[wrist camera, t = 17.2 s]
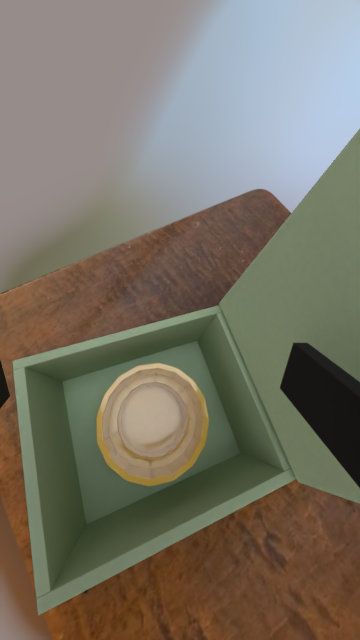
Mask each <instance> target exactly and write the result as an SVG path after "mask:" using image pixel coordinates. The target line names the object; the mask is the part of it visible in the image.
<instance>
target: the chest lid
mask: <svg viewBox="0 0 360 640" xmlns="http://www.w3.org/2000/svg"><path fill="white" fill-rule="evenodd" d="M219 304H220V307H221V309H222V311H223V313H224V316H225V318H226V320H227V322H228V325H229V327H230V329H231V331H232V334H233V336H234V338H235V341H236V343H237V345H238V347H239V350H240V352H241V354H242V356H243V359H244V361H245V363H246V365H247V368H248V370H249V372H250V375H251V377H252V379H253V381H254V384H255V386H256V388H257V390H258V393H259V395H260V397H261V400H262V402H263V404H264V406H265V409H266V411H267V413H268V415H269V418H270V420H271V422H272V424H273V427H274V429H275V431H276V434H277V436H278V438H279V440H280V443H281V445H282V447H283V449H284V452H285V454H286V456H287V458H288V461H289V463H290V465H291V468H292V470H293V472H294V474H295V477H296V479H297V481H298V482H299V483H302V484H305V485H308V486H311V487H314V488H317V489H319V490H322V491H325V492H328V493H331V494H334V495H337V496H340V497H342V498H345V499H348V500H351V501H354V502H357V503H360V488H359V487H358V486H357V484H356V483H355V482H354V481H353V479H352V478H351V477H350V476H349V474H348V473H347V472H346V471H345V469H344V468H343V467H342V466H341V464H340V463H339V462H338V461H337V459H336V458H335V457H334V455H333V454H332V453H331V452H330V450H329V449H328V448H327V447H326V445H325V444H324V443H323V442H322V440H321V439H320V438H319V437H318V435H317V434H316V433H315V432H314V430H313V429H312V428H311V427H310V425H309V424H308V423H307V422H306V420H305V419H304V418H303V417H302V415H301V414H300V413H299V412H298V410H297V409H296V408H295V407H294V405H293V404H292V403H291V402H290V400H289V399H288V398H287V397H286V395H285V394H284V393H283V392H282V390H281V389H280V385H281V382H282V378H283V375H284V372H285V369H286V365H287V362H288V359H289V355H290V352H291V349H292V345H293V343H308V344H310V345H311V346H312V347H314V348H315V349H316V350H318V351H319V352H320V353H322V354H323V355H324V356H326V357H327V358H328V359H330V360H331V361H332V362H334V363H335V364H336V365H338V366H339V367H340V368H342V369H343V370H344V371H346V372H347V373H348V374H350V375H351V376H352V377H354V378H355V379H356V380H358V381H359V382H360V129H359V130H358V132H357V133H356V134H355V135H354V137H353V138H352V139H351V140H350V141H349V143H348V144H347V145H346V146H345V148H344V149H343V150H342V151H341V153H340V154H339V155H338V156H337V158H336V159H335V160H334V161H333V163H332V164H331V165H330V166H329V168H328V169H327V170H326V171H325V173H324V174H323V175H322V176H321V177H320V179H319V180H318V181H317V182H316V184H315V185H314V186H313V187H312V189H311V190H310V191H309V192H308V194H307V195H306V196H305V197H304V199H303V200H302V201H301V202H300V204H299V205H298V206H297V207H296V209H295V210H294V211H293V212H292V213H291V215H290V216H289V217H288V218H287V220H286V221H285V222H284V223H283V225H282V226H281V227H280V228H279V230H278V231H277V232H276V233H275V235H274V236H273V237H272V238H271V239H270V241H269V242H268V243H267V244H266V246H265V247H264V248H263V249H262V251H261V252H260V253H259V254H258V256H257V257H256V258H255V259H254V261H253V262H252V263H251V264H250V266H249V267H248V268H247V269H246V270H245V272H244V273H243V274H242V275H241V277H240V278H239V279H238V280H237V282H236V283H235V284H234V285H233V287H232V288H231V289H230V290H229V292H228V293H227V294H226V295H225V297H224V298H223V299H222V300H221V302H220V303H219Z"/></svg>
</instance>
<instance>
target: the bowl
mask: <svg viewBox="0 0 360 640" xmlns="http://www.w3.org/2000/svg"><path fill="white" fill-rule="evenodd" d="M208 426H209V416H208V410H207V405H206V400H205V397H204V396H203V394H202V392H201V391H200V389H199V387H198V386H197V384H196V383H195V381H194V380H193V379H192V378H191V377H189V376H188V375H187V374H185V373H184V372H183V371H181V370H180V369H179V368H177V367H173V366H169V365H165V364H161V363H152V364H145V365H138V366H136V367H134V368H132V369H131V370H129V371H127V372H125V373H124V374H122V375H120V376H119V377H118V378H117V379H116V380H115V382H114V383H113V384H112V385H111V386H110V388H109V389H108V390H107V391H106V392H105V394H104V396H103V399H102V402H101V405H100V408H99V410H98V413H97V416H96V428H97V444H98V446H99V448H100V450H101V452H102V454H103V457H104V459H105V461H106V463H107V465H108V466H109V467H110V468H111V469H112V470H114V471H115V472H116V473H117V474H118V475H120V476H121V477H122V478H123V479H124V480H125V481H128V482H132V483H136V484H140V485H145V486H149V487H151V486H155V485H159V484H164V483H168V482H172V481H175V480H176V479H177V478H178V477H180V476H181V475H182V474H183V473H185V472H186V471H187V470H189V469H190V468H191V467H192V466H193V465H194V464H195V462H196V460H197V458H198V457H199V455H200V453H201V451H202V450H203V448H204V446H205V444H206V439H207V433H208Z"/></svg>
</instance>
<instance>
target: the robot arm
mask: <svg viewBox="0 0 360 640" xmlns="http://www.w3.org/2000/svg"><path fill="white" fill-rule="evenodd" d="M280 389H281V390H282V392H283V393H284V394H285V395H286V397H287V398H288V399H289V400H290V402H291V403H292V404H293V405H294V407H295V408H296V409H297V410H298V412H299V413H300V414H301V415H302V417H303V418H304V419H305V420H306V422H307V423H308V424H309V425H310V427H311V428H312V429H313V430H314V432H315V433H316V434H317V435H318V437H319V438H320V439H321V440H322V442H323V443H324V444H325V445H326V447H327V448H328V449H329V450H330V452H331V453H332V454H333V455H334V457H335V458H336V459H337V461H338V462H339V463H340V464H341V466H342V467H343V468H344V469H345V471H346V472H347V473H348V474H349V476H350V477H351V478H352V479H353V481H354V482H355V483H356V484H357V486H358V487H359V488H360V382H359V381H358V380H356V379H355V378H354V377H352V376H351V375H350V374H348V373H347V372H346V371H344V370H343V369H342V368H340V367H339V366H338V365H336V364H335V363H334V362H332V361H331V360H330V359H328V358H327V357H326V356H324V355H323V354H322V353H320V352H319V351H318V350H316V349H315V348H314V347H312V346H311V345H310V344H308V343H293V345H292V349H291V352H290V355H289V359H288V362H287V365H286V369H285V372H284V375H283V378H282V382H281V385H280ZM9 397H10V394H9V391H8V387H7V383H6V379H5V376H4V372H3V368H2V364H1V361H0V408H1V407H2V405H3V404H4V403H5V402H6V400H7V399H8V398H9Z"/></svg>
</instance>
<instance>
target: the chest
mask: <svg viewBox="0 0 360 640" xmlns="http://www.w3.org/2000/svg"><path fill="white" fill-rule="evenodd" d="M152 363H161V364H165V365H169V366H173V367H177V368H179V369H180V370H181V371H183V372H184V373H185V374H187V375H188V376H189V377H191V378H192V379H193V380H194V381H195V383H196V384H197V386H198V387H199V389H200V391H201V392H202V394H203V396H204V397H205V400H206V405H207V410H208V416H209V426H208V433H207V439H206V444H205V446H204V448H203V450H202V451H201V453H200V455H199V457H198V458H197V460H196V462H195V464H194V465H193V466H192V467H191V468H190V469H189V470H187V471H186V472H185V473H183V474H182V475H181V476H180V477H178V478H177V479H176V480H175V481H172V482H168V483H164V484H159V485H155V486H151V487H149V486H145V485H140V484H136V483H132V482H128V481H125V480H124V479H123V478H122V477H121V476H120V475H118V474H117V473H116V472H115V471H114V470H112V469H111V468H110V467H109V466H108V465H107V463H106V461H105V459H104V457H103V454H102V452H101V450H100V448H99V446H98V444H97V428H96V416H97V413H98V410H99V408H100V405H101V402H102V399H103V396H104V394H105V392H106V391H107V390H108V389H109V388H110V386H111V385H112V384H113V383H114V382H115V380H116V379H117V378H118V377H119V376H120V375H122V374H124V373H125V372H127V371H129V370H131V369H132V368H134V367H136V366H138V365H145V364H152ZM13 369H14V381H15V391H16V401H17V411H18V421H19V431H20V441H21V451H22V461H23V471H24V481H25V491H26V501H27V511H28V521H29V531H30V541H31V551H32V561H33V571H34V581H35V591H36V598H37V609H38V615H40V614H42V613H44V612H46V611H48V610H50V609H52V608H54V607H56V606H57V605H59V604H61V603H63V602H65V601H67V600H69V599H71V598H73V597H74V596H76V595H78V594H80V593H82V592H84V591H86V590H88V589H89V588H91V587H93V586H95V585H97V584H99V583H101V582H103V581H105V580H106V579H108V578H110V577H112V576H114V575H116V574H118V573H120V572H121V571H123V570H125V569H127V568H129V567H131V566H133V565H135V564H137V563H138V562H140V561H142V560H144V559H146V558H148V557H150V556H152V555H154V554H155V553H157V552H159V551H161V550H163V549H165V548H167V547H169V546H170V545H172V544H174V543H176V542H178V541H180V540H182V539H184V538H186V537H187V536H189V535H191V534H193V533H195V532H197V531H199V530H201V529H202V528H204V527H206V526H208V525H210V524H212V523H214V522H216V521H218V520H219V519H221V518H223V517H225V516H227V515H229V514H231V513H233V512H235V511H236V510H238V509H240V508H242V507H244V506H246V505H248V504H250V503H251V502H253V501H255V500H257V499H259V498H261V497H263V496H265V495H267V494H268V493H270V492H272V491H274V490H276V489H278V488H280V487H282V486H283V485H285V484H287V483H289V482H291V481H293V480H295V479H296V477H295V474H294V472H293V470H292V468H291V465H290V463H289V461H288V458H287V456H286V454H285V452H284V449H283V447H282V445H281V443H280V440H279V438H278V436H277V434H276V431H275V429H274V427H273V424H272V422H271V420H270V418H269V415H268V413H267V411H266V409H265V406H264V404H263V402H262V400H261V397H260V395H259V393H258V390H257V388H256V386H255V384H254V381H253V379H252V377H251V375H250V372H249V370H248V368H247V365H246V363H245V361H244V359H243V356H242V354H241V352H240V350H239V347H238V345H237V343H236V341H235V338H234V336H233V334H232V331H231V329H230V327H229V325H228V322H227V320H226V318H225V316H224V313H223V311H222V309H221V307H220V305H218V306H214V307H211V308H207V309H203V310H200V311H196V312H192V313H188V314H185V315H181V316H177V317H174V318H170V319H166V320H162V321H159V322H155V323H151V324H148V325H144V326H140V327H137V328H133V329H129V330H125V331H122V332H118V333H114V334H111V335H107V336H103V337H99V338H96V339H92V340H88V341H85V342H81V343H77V344H73V345H70V346H66V347H62V348H59V349H55V350H51V351H47V352H44V353H40V354H36V355H33V356H29V357H25V358H22V359H18V360H14V361H13Z"/></svg>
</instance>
